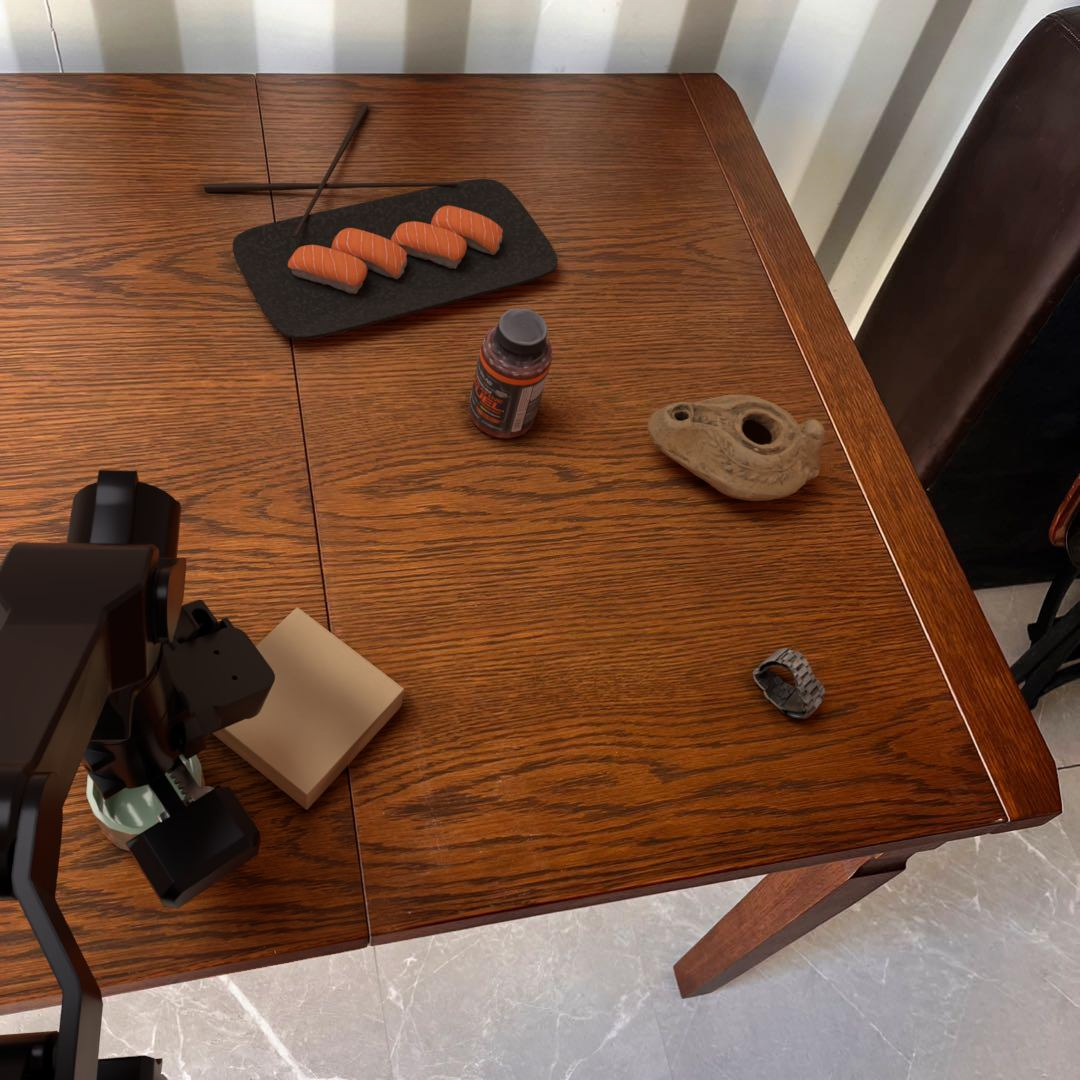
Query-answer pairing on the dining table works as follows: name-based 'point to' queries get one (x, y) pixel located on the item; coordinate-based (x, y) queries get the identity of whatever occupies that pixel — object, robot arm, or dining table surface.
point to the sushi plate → (387, 252)
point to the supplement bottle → (511, 374)
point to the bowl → (133, 807)
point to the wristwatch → (784, 695)
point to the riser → (312, 709)
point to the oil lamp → (740, 445)
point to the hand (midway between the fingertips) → (150, 796)
